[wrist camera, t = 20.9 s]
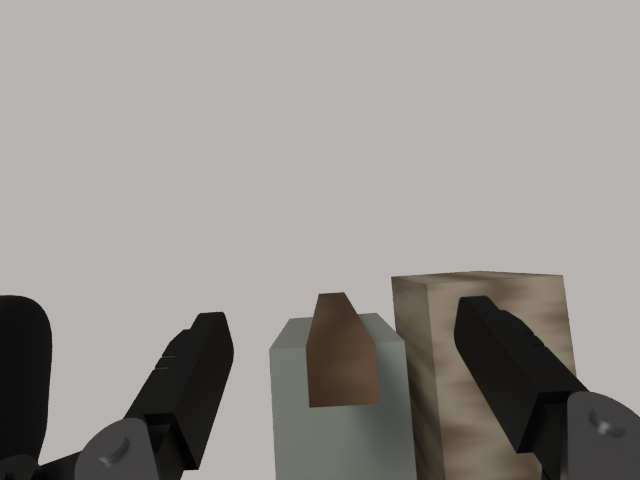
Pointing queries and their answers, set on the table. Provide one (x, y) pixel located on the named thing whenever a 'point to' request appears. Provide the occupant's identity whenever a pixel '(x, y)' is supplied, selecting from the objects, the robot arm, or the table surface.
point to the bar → (340, 356)
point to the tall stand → (454, 377)
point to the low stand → (341, 414)
